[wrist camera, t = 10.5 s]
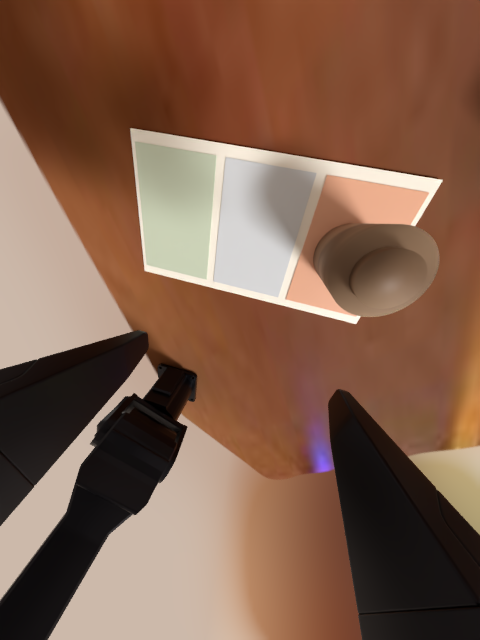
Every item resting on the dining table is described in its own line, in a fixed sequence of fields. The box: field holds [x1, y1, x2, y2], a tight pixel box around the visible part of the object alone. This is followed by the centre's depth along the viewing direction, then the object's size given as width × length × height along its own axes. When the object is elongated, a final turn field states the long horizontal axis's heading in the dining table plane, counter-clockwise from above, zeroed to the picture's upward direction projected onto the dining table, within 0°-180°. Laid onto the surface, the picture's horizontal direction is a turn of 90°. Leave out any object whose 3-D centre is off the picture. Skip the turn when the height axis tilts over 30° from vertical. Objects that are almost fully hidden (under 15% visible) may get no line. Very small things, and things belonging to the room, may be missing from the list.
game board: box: [130, 128, 443, 324], centre depth 17 cm, size 12×24×1 cm, turn 80°
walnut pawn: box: [313, 223, 439, 317], centre depth 12 cm, size 5×5×8 cm
